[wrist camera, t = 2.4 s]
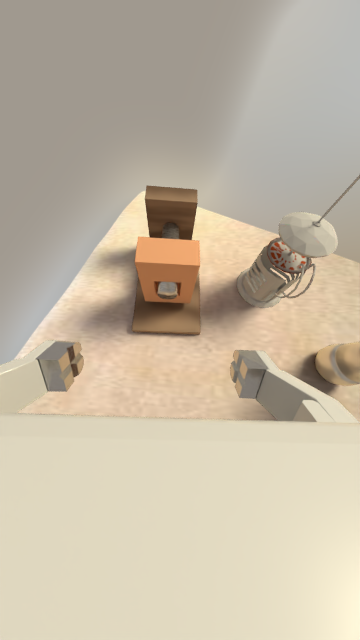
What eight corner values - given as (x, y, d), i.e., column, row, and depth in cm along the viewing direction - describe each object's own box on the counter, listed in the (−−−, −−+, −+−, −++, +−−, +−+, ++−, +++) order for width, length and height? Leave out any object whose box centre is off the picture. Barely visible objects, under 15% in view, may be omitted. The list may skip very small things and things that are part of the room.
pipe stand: (199, 334, 32) (216, 305, 21) (133, 331, 32) (113, 300, 20) (197, 245, 40) (209, 188, 28) (144, 241, 39) (134, 182, 28)
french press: (277, 268, 39) (440, 90, 16) (289, 316, 35) (537, 172, 11) (233, 266, 38) (336, 79, 15) (241, 316, 34) (398, 162, 11)
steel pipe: (176, 299, 28) (177, 290, 26) (158, 299, 28) (156, 289, 25) (178, 230, 34) (179, 215, 31) (163, 229, 34) (162, 214, 31)
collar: (190, 303, 32) (199, 265, 22) (145, 301, 31) (134, 261, 21) (190, 284, 33) (199, 240, 23) (147, 282, 33) (138, 236, 23)
